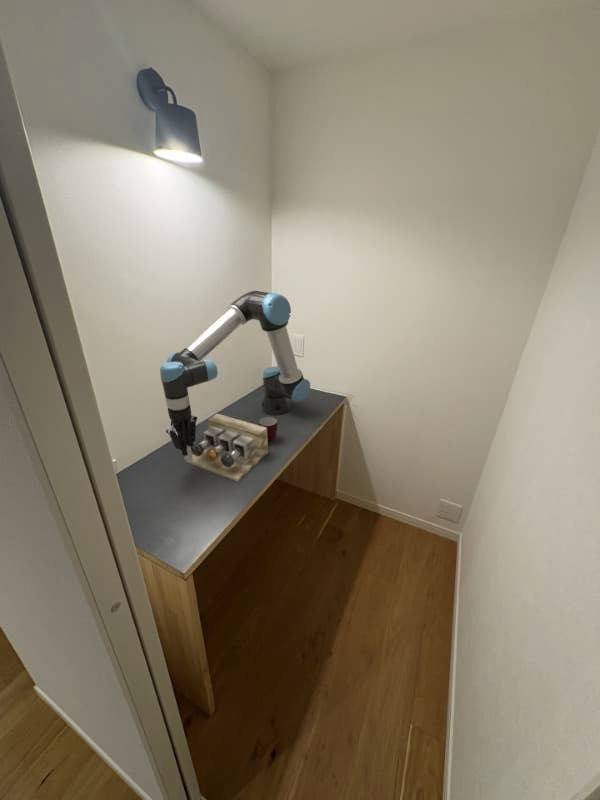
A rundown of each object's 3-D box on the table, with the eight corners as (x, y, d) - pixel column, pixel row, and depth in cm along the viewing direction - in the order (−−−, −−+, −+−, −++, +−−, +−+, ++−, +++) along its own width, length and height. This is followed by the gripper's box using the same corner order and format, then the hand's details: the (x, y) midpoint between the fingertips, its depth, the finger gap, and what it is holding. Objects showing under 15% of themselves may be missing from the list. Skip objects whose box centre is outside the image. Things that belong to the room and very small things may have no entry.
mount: (220, 436, 144) (217, 413, 139) (268, 452, 134) (266, 427, 128) (186, 461, 127) (181, 436, 122) (237, 481, 117) (235, 454, 112)
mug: (267, 450, 135) (266, 430, 131) (252, 444, 139) (251, 425, 134) (281, 438, 143) (280, 419, 139) (266, 434, 147) (265, 415, 142)
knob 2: (235, 453, 126) (234, 443, 124) (245, 456, 124) (244, 446, 122) (221, 465, 119) (220, 454, 117) (231, 468, 117) (230, 458, 115)
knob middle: (221, 448, 129) (219, 438, 127) (230, 451, 127) (229, 441, 125) (206, 459, 122) (205, 449, 120) (216, 463, 120) (214, 452, 118)
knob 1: (207, 443, 132) (205, 433, 130) (215, 446, 130) (214, 436, 128) (192, 454, 125) (190, 444, 123) (201, 457, 123) (199, 447, 121)
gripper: (184, 396, 117) (193, 449, 127) (156, 411, 107) (168, 467, 117) (200, 400, 114) (208, 454, 124) (172, 416, 104) (183, 473, 114)
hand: (188, 460), depth 121 cm, fingers closed
